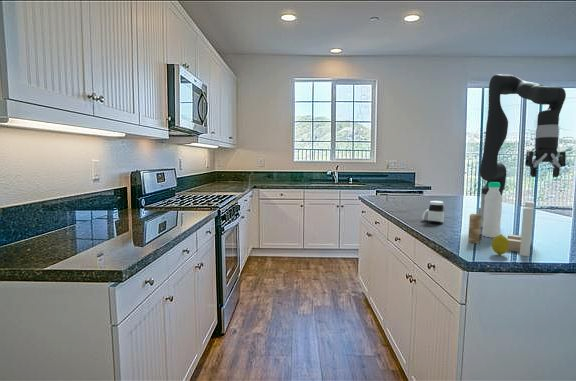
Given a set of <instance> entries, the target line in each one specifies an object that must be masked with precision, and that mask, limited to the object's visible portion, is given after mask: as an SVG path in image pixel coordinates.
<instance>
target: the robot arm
mask: <svg viewBox="0 0 576 381" xmlns="http://www.w3.org/2000/svg"><path fill="white" fill-rule="evenodd" d="M566 94H567V93H566V90H565V89H564V87H561V86H545V85H543V84H542V83H537V82H531V81H525V80H523V79H522V78H519V77H518V76H516V75H513V74H494V75H492V77H491V78H490V81H489V83H488V108H487V117H486V118H487V121H486V126H485V138H484V146H483V153H482V158H481V162H480V167H479V176H480V177H481V180H483V181H486V184H485V185H484V186H483V187H482V188H481V195H480V196H481V197H480V199H481V200H480V207H479V208H478V211H477V212H478V213H477V214H481V215H482V218H481V229H483V220H484V218H483V214H484V203H485V199H484V198H485V195H486V194H487V192H488V191H489V188H488V183H489V182H499V183H500V188H499V192H500V195H501V196H502V197H503V192H504V190H505V187H506V180H507V168H506V165H505V164H504V163H502V162H499V161H498V158H499V153H500V150H501V148H502V147H503V144H504V142H505V141H506V139H507V135H508V131H509V119H508V117H507V115H506V113H505V111H504V109H503V107H502V104H501V95H505V96H506V95H507V96H508V95H518V96H519V97H520V98H522V99H525V100H528V101H532V103H534V104H537V105H544V106H545V105H548V108H547V109H546V110H542V111H539V112H538V114H537V121H536V130H535V138H534V139H535V140H534V141H535V142H534V148H535V150H534V151H533V150H527V152H526V154H525V164H524V165H525V167H529V174H530V177H532V178H536V177H537V169H538V167H537V166H538V165H539V164H541V163H549V164H550V165H552V167H553V169H552V177H553V178H558V177H559V176H560V171H561V168H562V167H566V163H567V162H566V159H567V158H566V156H567V154H566V151H558V147H559V137H560V136H559V135H560V130H559V128H560V127H559V124H560V121H559V120H560V114H561V111H562V108H563V105H564V102H565V100H566V98H567V97H566V96H567V95H566ZM534 157H535V158H534ZM533 158H534V159H533ZM500 222H501V220H500Z"/></svg>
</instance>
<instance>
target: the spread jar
mask: <svg viewBox="0 0 576 381" xmlns="http://www.w3.org/2000/svg"><path fill="white" fill-rule="evenodd" d="M421 218H422V220H424V221H428V223H429V224H432V225H442V224H444V221H445V206H444V201H442V200H430V201H429V207H428V208H427V209H426V210H424V212H423V213H422V215H421Z"/></svg>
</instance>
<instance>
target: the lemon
mask: <svg viewBox="0 0 576 381" xmlns="http://www.w3.org/2000/svg"><path fill="white" fill-rule="evenodd" d="M508 248H509V242H508V237H506V236H505V235H503V234H501V233H500V235H498V236H496V237H494V238H492V240H491V249H492V250H493V252H494V253H496V254H497V255H498V256H501V255H503V254H506V253H507V252H508V251H509V250H508Z"/></svg>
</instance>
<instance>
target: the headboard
mask: <svg viewBox="0 0 576 381" xmlns="http://www.w3.org/2000/svg"><path fill="white" fill-rule="evenodd" d="M522 208H523V209H522V220H521V221H522V222H521V231H520V232H521V233H520V235H516V234H507V239H508V242H509V248H508V251H511V252H517V253H518V252H519V256H524V257H530V255H531V254H530V253H531V245H532V234H533V233H532V232H533V225H534V224H533V222H534V209H535V201H528V200H526V201H525V204H524V207H522Z"/></svg>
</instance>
